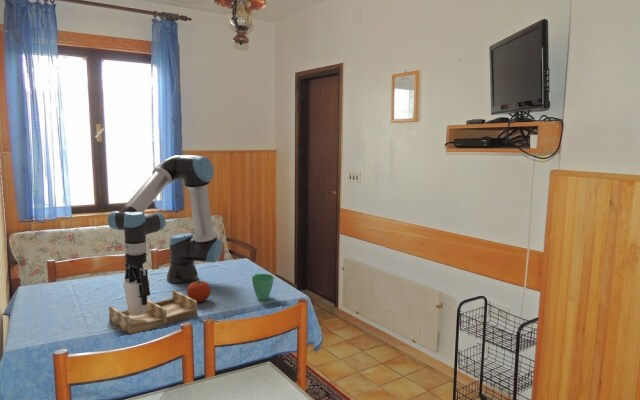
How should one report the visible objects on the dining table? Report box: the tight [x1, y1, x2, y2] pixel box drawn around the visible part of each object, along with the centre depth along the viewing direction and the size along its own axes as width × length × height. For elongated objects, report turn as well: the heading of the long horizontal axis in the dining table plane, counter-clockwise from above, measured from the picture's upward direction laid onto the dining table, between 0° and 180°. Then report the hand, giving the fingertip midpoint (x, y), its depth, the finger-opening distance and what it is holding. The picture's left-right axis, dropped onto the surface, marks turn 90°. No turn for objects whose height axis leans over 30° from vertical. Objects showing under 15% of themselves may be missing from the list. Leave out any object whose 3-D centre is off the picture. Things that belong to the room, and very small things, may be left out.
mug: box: [251, 272, 275, 301], centre depth 210 cm, size 15×10×10 cm
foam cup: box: [122, 277, 150, 316], centre depth 177 cm, size 10×9×13 cm
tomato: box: [186, 279, 212, 303], centre depth 202 cm, size 10×10×10 cm
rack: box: [108, 289, 198, 336], centre depth 183 cm, size 18×28×6 cm, turn 137°
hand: (137, 308), depth 177 cm, fingers closed on foam cup, 9 cm apart
